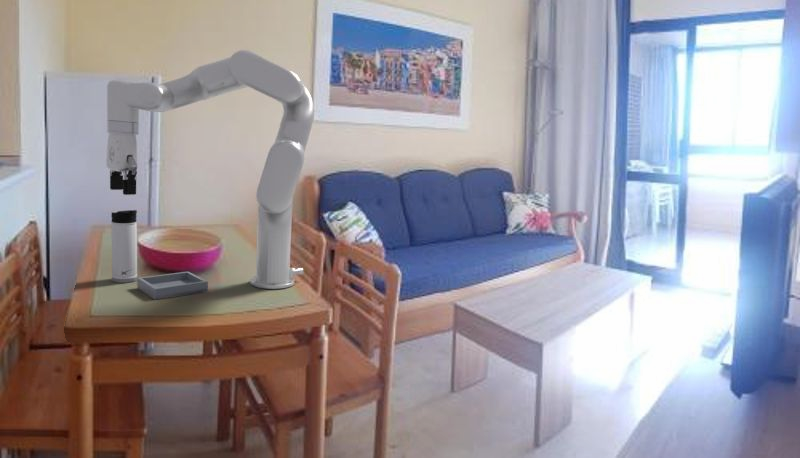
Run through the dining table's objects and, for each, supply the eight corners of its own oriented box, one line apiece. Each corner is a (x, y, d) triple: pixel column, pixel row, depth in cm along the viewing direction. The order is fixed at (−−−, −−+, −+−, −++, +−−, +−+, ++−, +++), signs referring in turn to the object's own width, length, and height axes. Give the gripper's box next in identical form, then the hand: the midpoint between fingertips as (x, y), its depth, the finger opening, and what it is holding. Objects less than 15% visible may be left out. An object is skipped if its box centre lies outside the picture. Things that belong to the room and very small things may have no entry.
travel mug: (128, 284, 154) (127, 212, 150) (107, 281, 155) (105, 209, 151) (143, 278, 160) (142, 209, 156) (122, 276, 161) (121, 207, 157)
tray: (188, 280, 161) (188, 271, 160) (207, 291, 152) (207, 281, 152) (137, 288, 151) (137, 277, 150) (155, 299, 143) (155, 289, 142)
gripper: (97, 125, 153) (97, 187, 156) (119, 129, 141) (119, 196, 144) (126, 127, 159) (125, 187, 161) (150, 131, 147) (149, 196, 150)
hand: (122, 191), depth 153 cm, fingers open, 9 cm apart
